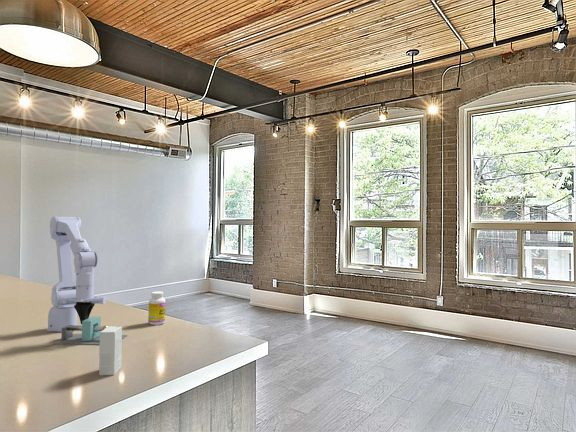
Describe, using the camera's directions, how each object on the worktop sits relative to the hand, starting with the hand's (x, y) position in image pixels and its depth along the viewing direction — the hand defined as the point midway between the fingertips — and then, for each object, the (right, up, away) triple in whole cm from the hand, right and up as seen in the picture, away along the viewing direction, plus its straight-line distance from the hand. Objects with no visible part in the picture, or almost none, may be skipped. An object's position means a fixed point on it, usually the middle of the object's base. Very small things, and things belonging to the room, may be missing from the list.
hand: (84, 323), depth 139 cm
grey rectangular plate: (+3, -6, 0) cm, 6 cm away
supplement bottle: (+18, -7, +23) cm, 30 cm away
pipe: (+3, -6, 0) cm, 6 cm away
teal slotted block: (+3, -6, 0) cm, 6 cm away
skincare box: (+22, -6, -29) cm, 37 cm away
